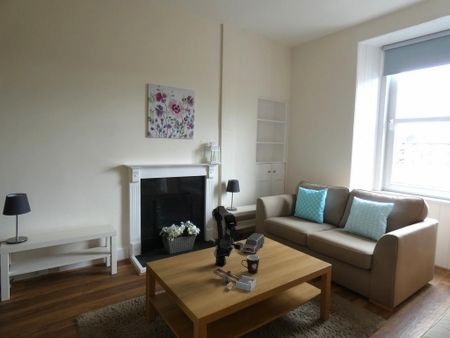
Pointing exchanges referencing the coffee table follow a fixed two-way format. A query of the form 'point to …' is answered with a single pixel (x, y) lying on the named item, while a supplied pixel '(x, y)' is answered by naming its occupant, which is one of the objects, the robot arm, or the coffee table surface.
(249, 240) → the toy van
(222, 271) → the lever
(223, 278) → the pivot stand
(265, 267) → the coffee table surface
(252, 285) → the dish
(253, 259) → the coffee mug
